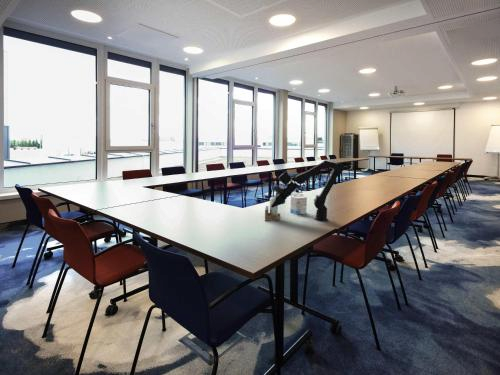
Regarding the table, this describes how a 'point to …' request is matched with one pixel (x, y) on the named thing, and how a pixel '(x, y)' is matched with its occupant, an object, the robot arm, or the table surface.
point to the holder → (268, 217)
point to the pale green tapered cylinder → (273, 209)
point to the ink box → (298, 204)
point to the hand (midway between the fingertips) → (271, 206)
